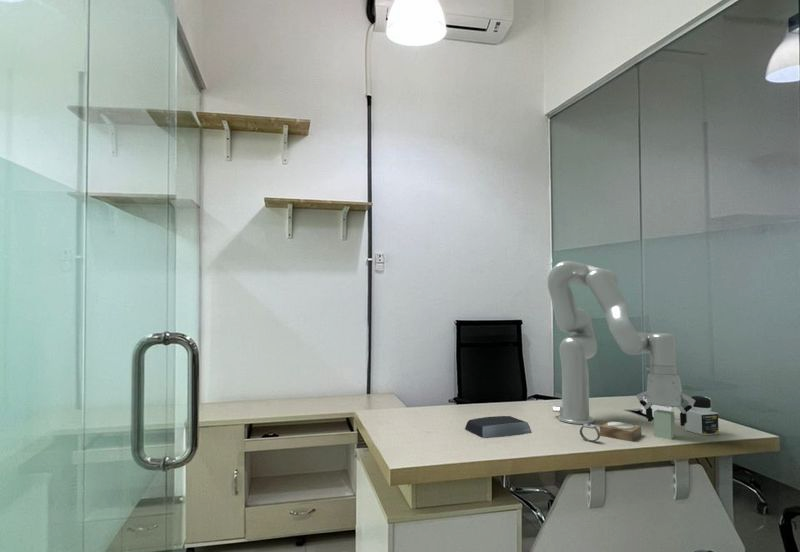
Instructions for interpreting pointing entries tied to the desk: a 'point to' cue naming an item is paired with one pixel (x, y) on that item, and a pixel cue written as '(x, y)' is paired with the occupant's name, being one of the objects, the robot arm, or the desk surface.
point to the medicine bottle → (702, 417)
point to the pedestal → (620, 430)
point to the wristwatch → (591, 428)
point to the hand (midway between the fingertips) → (666, 422)
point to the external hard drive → (497, 426)
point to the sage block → (664, 424)
